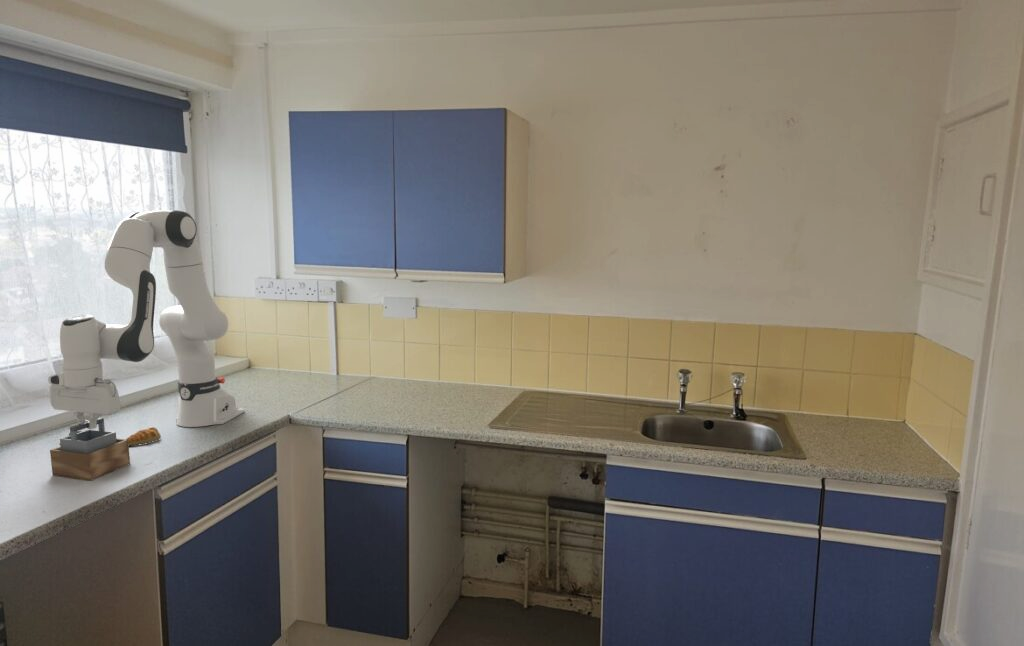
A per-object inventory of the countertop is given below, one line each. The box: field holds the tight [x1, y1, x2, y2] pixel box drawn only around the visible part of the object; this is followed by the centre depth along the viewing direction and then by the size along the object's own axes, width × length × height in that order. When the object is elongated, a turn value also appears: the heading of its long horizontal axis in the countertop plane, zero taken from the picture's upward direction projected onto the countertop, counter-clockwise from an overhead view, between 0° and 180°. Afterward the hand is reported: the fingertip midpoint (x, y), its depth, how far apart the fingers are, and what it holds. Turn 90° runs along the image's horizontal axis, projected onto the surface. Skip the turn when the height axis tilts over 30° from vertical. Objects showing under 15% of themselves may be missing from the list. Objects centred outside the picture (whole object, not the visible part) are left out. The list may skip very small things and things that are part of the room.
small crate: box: [59, 417, 117, 454], centre depth 179 cm, size 9×9×9 cm
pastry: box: [125, 426, 162, 447], centre depth 203 cm, size 9×7×4 cm
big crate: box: [49, 437, 131, 482], centre depth 180 cm, size 13×13×7 cm
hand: (87, 427), depth 179 cm, fingers closed on small crate
